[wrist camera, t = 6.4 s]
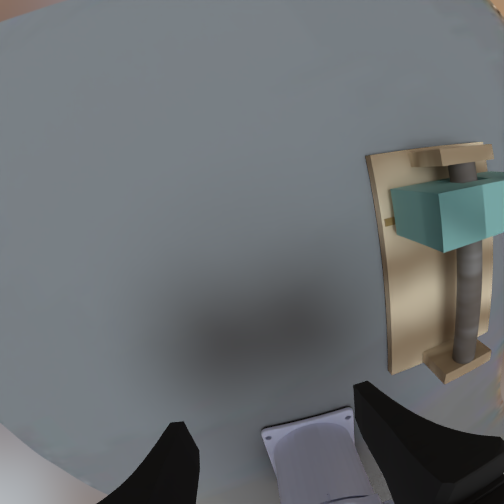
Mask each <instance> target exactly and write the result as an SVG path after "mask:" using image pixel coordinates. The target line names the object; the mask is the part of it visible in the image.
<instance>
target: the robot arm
mask: <svg viewBox="0 0 504 504" xmlns="http://www.w3.org/2000/svg"><path fill="white" fill-rule="evenodd" d="M353 388H354V404H355V418H356V421H357V424H358V427H359V429H360V432H361V434H362V437H363V439H364V440H365V442H366V444H367V446H368V448H369V450H370V451H371V453H372V455H373V457H374V459H375V461H376V462H377V464H378V466H379V468H380V470H381V471H382V473H383V476H384V478H385V480H386V482H387V485H388V487H389V490H390V493H391V495H392V498H393V500H387V501H385V502H383V504H504V474H503V473H504V440H503V439H502V438H501V437H496V436H484V435H476V434H470V433H465V432H461V431H457V430H454V429H450V428H447V427H444V426H441V425H439V424H436V423H434V422H431V421H429V420H427V419H425V418H423V417H421V416H419V415H417V414H415V413H413V412H411V411H410V410H408V409H406V408H405V407H403V406H402V405H400V404H398V403H397V402H395V401H394V400H392V399H391V398H390V397H388V396H387V395H385V394H384V393H383V392H381V391H380V390H379V389H378V388H376V387H375V386H374V385H372V384H371V383H370V382H368V381H365V382H362V383H359V384H355V385H353ZM346 416H348V417H346ZM261 434H262V438H263V441H264V444H265V447H266V449H267V452H268V455H269V458H270V461H271V463H272V466H273V469H274V472H275V474H276V477H277V483H278V490H279V497H280V503H281V504H382V502H381V500H380V497H379V495H378V493H376V494H375V493H374V490H373V488H372V486H371V483H370V481H369V479H368V476H367V474H366V471H365V469H364V467H363V464H362V462H361V460H360V457H359V455H358V453H357V450H356V448H355V442H354V418H353V410H352V408H350V407H347V408H344V409H340V410H337V411H334V412H330V413H327V414H323V415H320V416H316V417H312V418H308V419H305V420H301V421H296V422H292V423H288V424H284V425H279V426H274V427H270V428H265V429H263V430H262V431H261ZM267 436H270V437H267ZM199 472H200V458H199V449H198V447H197V446H196V444H195V442H194V440H193V438H192V436H191V435H190V433H189V431H188V429H187V427H186V425H185V423H184V421H182V422H173V423H170V424H169V425H168V427H167V428H166V430H165V431H164V433H163V434H162V436H161V437H160V439H159V440H158V441H157V443H156V444H155V446H154V447H153V448H152V450H151V451H150V453H149V454H148V455H147V457H146V458H145V459H144V461H143V462H142V463H141V464H140V465H139V467H138V468H137V469H136V470H135V471H134V472H133V474H132V475H131V476H130V477H129V478H128V479H127V480H126V481H125V482H124V483H123V484H121V485H120V486H119V487H118V488H117V489H116V490H114V491H113V492H112V493H111V494H109V495H108V496H107V497H106V498H104V499H103V500H101V501H100V502H98V503H97V504H196V496H197V489H198V480H199Z"/></svg>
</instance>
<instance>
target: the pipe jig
mask: <svg viewBox="0 0 504 504" xmlns="http://www.w3.org/2000/svg"><path fill="white" fill-rule="evenodd" d="M365 157H366V162H367V167H368V172H369V177H370V182H371V188H372V193H373V199H374V205H375V211H376V218H377V225H378V232H379V239H380V247H381V256H382V265H383V275H384V286H385V299H386V315H387V338H388V371H389V372H390V373H391V375H394V374H396V373H399V372H401V371H404V370H406V369H409V368H411V367H414V366H416V365H419V364H421V363H423V362H424V363H425V364H426V365H427V366H428V368H429V369H430V370H431V371H432V372H433V373H434V374H435V375H436V376H437V377H438V378H439V379H440V380H441V381H442V382H443V384H446V383H448V382H450V381H452V380H454V379H456V378H458V377H460V376H462V375H464V374H466V373H468V372H470V371H471V370H473V369H475V368H477V367H478V366H480V365H482V364H484V363H485V362H487V361H489V360H490V356H491V349H489V348H488V347H487V346H485V345H484V344H483V343H481V342H480V341H479V340H477V337H478V336H480V335H482V334H484V333H486V332H487V331H488V324H489V315H490V305H491V292H492V273H493V236H492V237H489V238H486V239H483V240H480V241H477V242H475V243H472V244H469V245H466V246H463V247H460V248H457V249H454V250H451V251H448V252H445V253H443V252H441V251H438V250H435V249H433V248H430V247H428V246H425V245H423V244H420V243H417V242H415V241H412V240H410V239H407V238H404V237H402V236H399V235H397V233H396V225H395V217H394V210H393V203H392V197H391V191H390V189H394V188H399V187H404V186H409V185H414V184H420V183H425V182H430V181H436V180H441V179H447V178H450V182H451V183H466V182H472V181H477V173H481V172H488V171H487V164H486V160H491V159H494V156H493V150H492V144H485V145H483V142H475V143H464V144H453V145H444V146H434V147H426V148H418V149H410V150H402V151H395V152H388V153H381V154H375V155H368V156H365Z"/></svg>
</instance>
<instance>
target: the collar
mask: <svg viewBox="0 0 504 504" xmlns="http://www.w3.org/2000/svg"><path fill="white" fill-rule="evenodd" d="M390 191H391V197H392V203H393V210H394V217H395V225H396V233H397V235H399V236H402V237H404V238H407V239H410V240H412V241H415V242H417V243H420V244H423V245H425V246H428V247H430V248H433V249H435V250H438V251H441V252H443V253H445V252H448V251H451V250H454V249H457V248H460V247H463V246H466V245H469V244H472V243H475V242H477V241H480V240H483V239H486V238H489V237H492V236H495V235H497V234H500V233H503V232H504V172H481V173H477V181H472V182H466V183H451V182H450V178H447V179H441V180H436V181H430V182H425V183H420V184H414V185H409V186H404V187H399V188H394V189H390Z"/></svg>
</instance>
